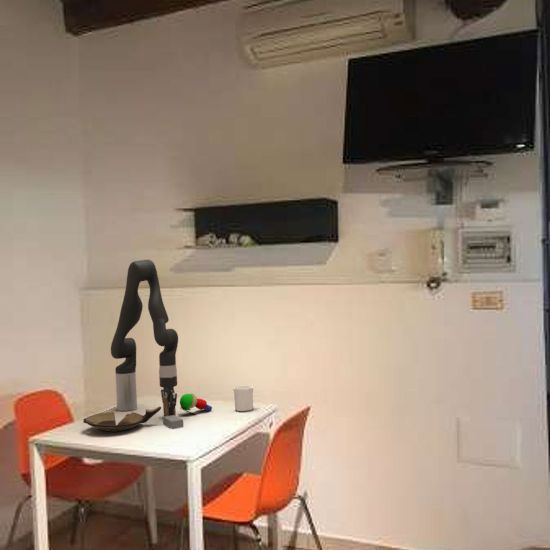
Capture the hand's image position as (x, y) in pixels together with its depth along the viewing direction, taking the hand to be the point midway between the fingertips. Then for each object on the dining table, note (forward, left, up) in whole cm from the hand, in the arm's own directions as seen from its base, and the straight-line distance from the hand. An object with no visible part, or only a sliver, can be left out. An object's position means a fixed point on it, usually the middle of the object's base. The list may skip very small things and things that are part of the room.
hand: (169, 414), depth 258 cm
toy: (-2, +13, -2) cm, 13 cm away
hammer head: (+12, -3, -2) cm, 12 cm away
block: (0, 0, -2) cm, 2 cm away
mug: (+6, +34, -2) cm, 34 cm away
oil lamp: (+4, -22, -2) cm, 23 cm away
